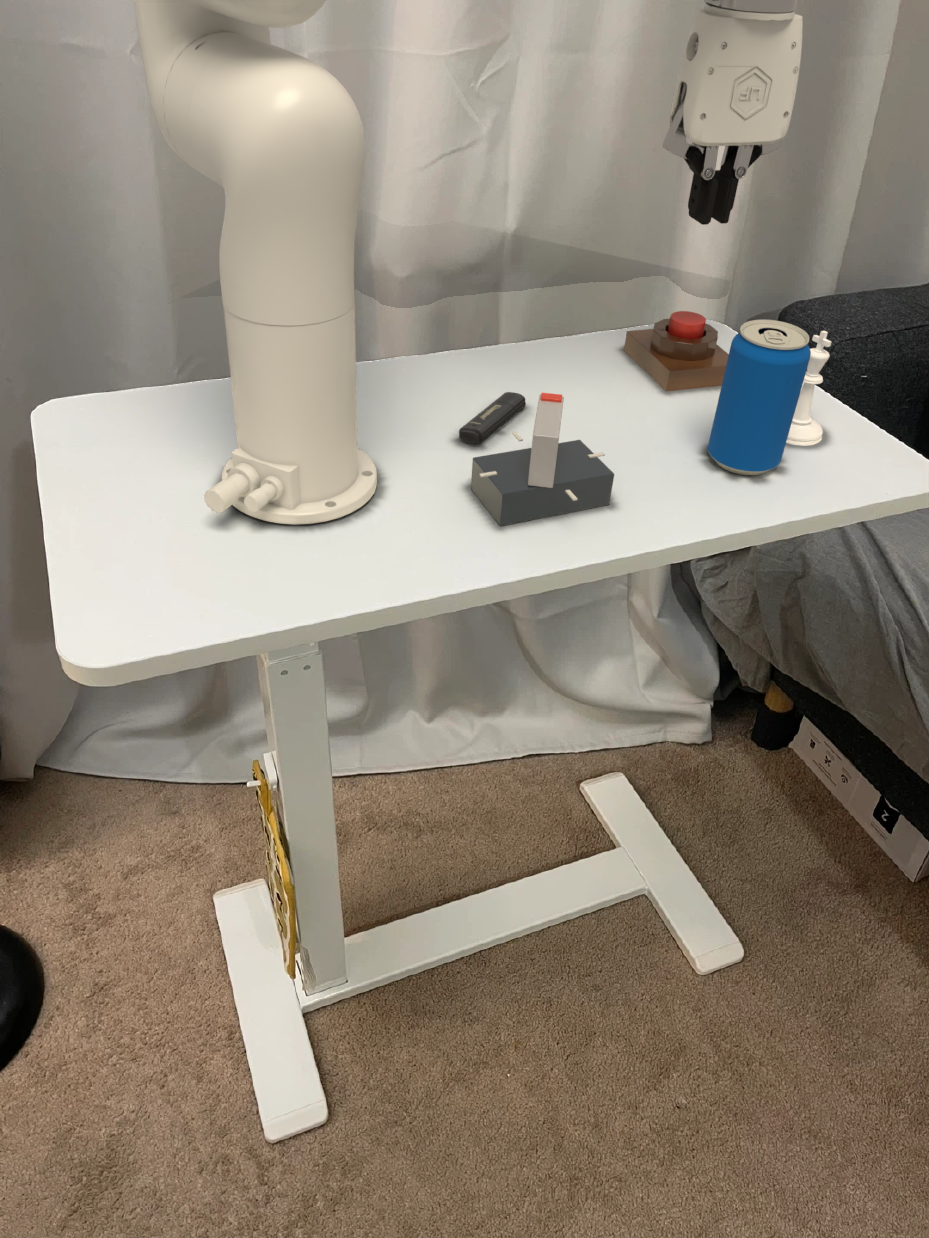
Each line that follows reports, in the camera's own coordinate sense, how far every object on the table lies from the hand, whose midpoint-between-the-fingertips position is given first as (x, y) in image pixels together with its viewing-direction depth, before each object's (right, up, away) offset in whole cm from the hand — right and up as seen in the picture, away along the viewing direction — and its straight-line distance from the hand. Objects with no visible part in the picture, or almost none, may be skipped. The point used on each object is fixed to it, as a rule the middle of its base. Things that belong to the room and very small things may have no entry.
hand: (707, 218), depth 95 cm
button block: (-1, -12, +9) cm, 15 cm away
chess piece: (+8, -21, -1) cm, 22 cm away
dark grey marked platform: (-17, -28, -12) cm, 35 cm away
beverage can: (+2, -24, -5) cm, 25 cm away
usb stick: (-21, -20, -2) cm, 29 cm away
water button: (-1, -9, +7) cm, 12 cm away
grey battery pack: (-17, -26, -14) cm, 34 cm away
